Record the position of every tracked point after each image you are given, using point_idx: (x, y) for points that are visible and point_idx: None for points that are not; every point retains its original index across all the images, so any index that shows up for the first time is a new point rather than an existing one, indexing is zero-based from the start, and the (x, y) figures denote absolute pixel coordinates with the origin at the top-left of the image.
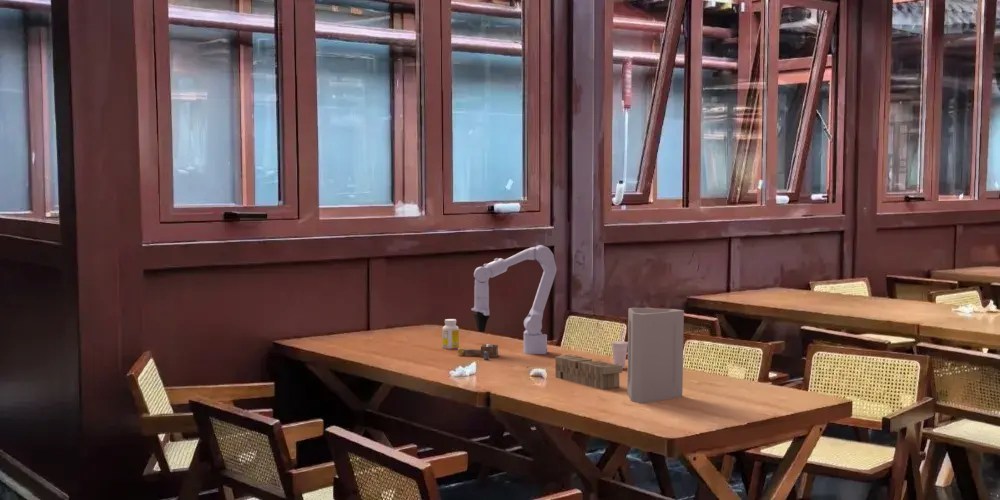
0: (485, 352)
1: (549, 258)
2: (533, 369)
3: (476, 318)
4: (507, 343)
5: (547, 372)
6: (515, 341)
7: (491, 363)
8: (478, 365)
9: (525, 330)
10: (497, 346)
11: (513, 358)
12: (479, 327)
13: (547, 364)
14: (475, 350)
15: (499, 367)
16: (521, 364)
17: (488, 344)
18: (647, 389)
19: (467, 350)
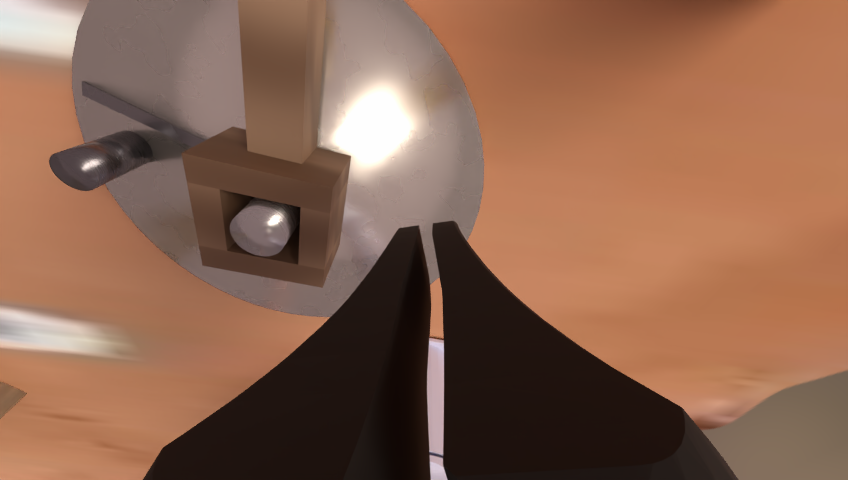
0: (53, 162)
1: None
2: (67, 323)
3: (447, 367)
4: (804, 330)
5: (23, 351)
6: (827, 361)
7: None
8: (35, 71)
9: (444, 476)
10: (290, 276)
11: None
12: (379, 265)
13: (216, 372)
14: (245, 96)
15: (34, 199)
16: (184, 302)
17: (264, 229)
18: None
19: (240, 4)
